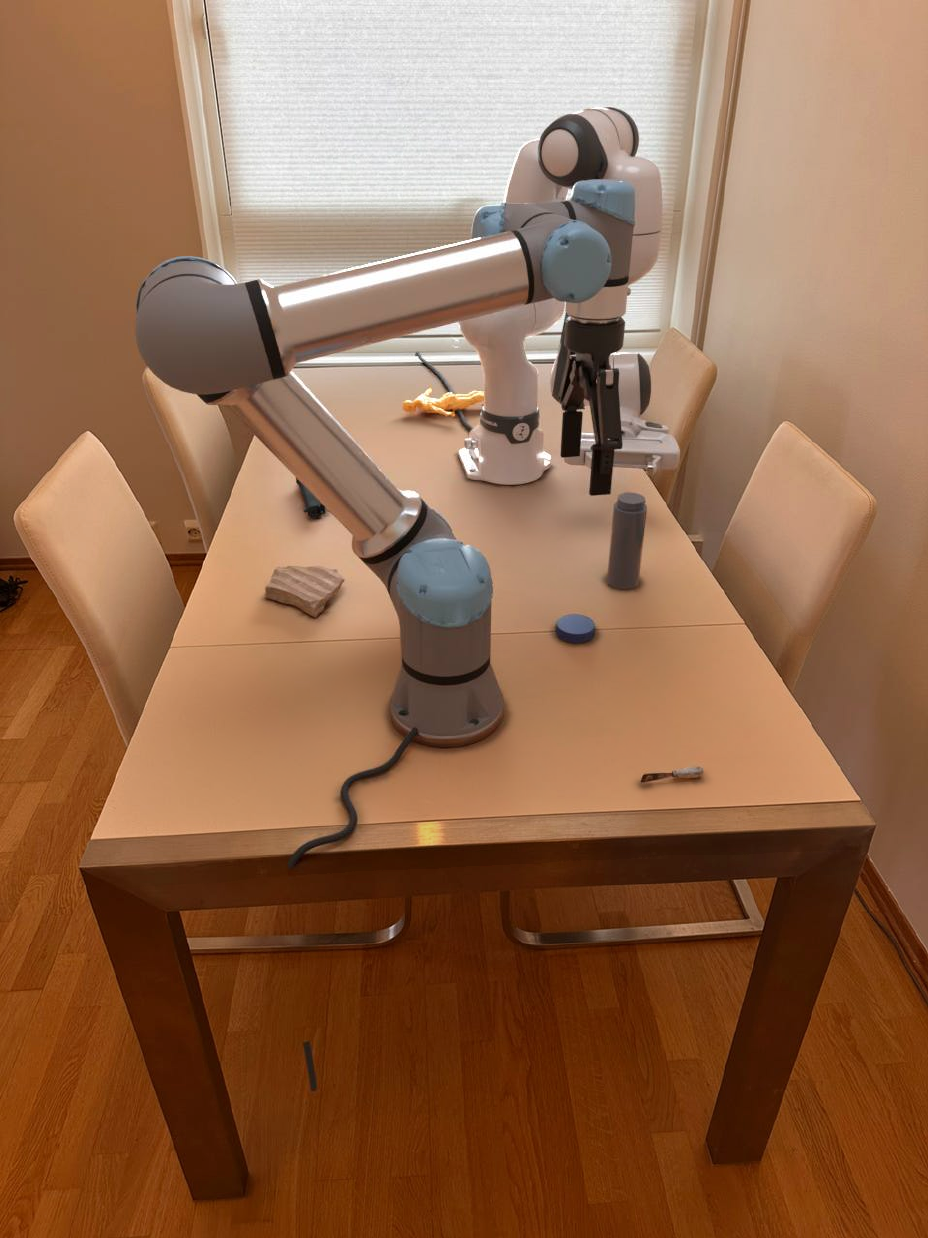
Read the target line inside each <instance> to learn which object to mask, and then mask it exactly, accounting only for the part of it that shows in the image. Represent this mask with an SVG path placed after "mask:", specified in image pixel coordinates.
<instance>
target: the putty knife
mask: <svg viewBox="0 0 928 1238" xmlns="http://www.w3.org/2000/svg"><path fill="white" fill-rule="evenodd" d="M704 772H705V771H704V768H702V767H701V766H697V765H695V766H688V767H683V768H679V769H675V770H673V771H671V772H653V773H652V772H651V773H650V772H649V773H644V774H642V776H641V779H640V783H642V784H645V783H648V782H653V781H659V780H665V779H668V778H673V779H674V778H675V779H693V778H694V779H695V778H700V777H702V776H703V775H704Z"/></svg>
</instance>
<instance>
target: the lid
mask: <svg viewBox="0 0 928 1238" xmlns="http://www.w3.org/2000/svg"><path fill="white" fill-rule="evenodd" d="M595 633H596V624H595V621H594V620H593V619H592V618H591V617H589V616H586V615H584V614H579V613H570V614H565V615H562V616H560V617H558V619H557V621H556V624H555V634H556V636H557V637H558V638H559V639H560V640H562V641H563V642H567V643H569V644H570V643H571V644H584V643H587V642H590V641H591V640H592V639H593V638H594V637H595V635H596V634H595Z"/></svg>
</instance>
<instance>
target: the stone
mask: <svg viewBox="0 0 928 1238" xmlns="http://www.w3.org/2000/svg"><path fill="white" fill-rule="evenodd" d="M344 582H345V578H344V576H342V575H341V574H339V573H338V569H337V568H336V569H331V568H328V567H325V566H321V565H310V566H300V565H287V566H283V567H282V566H277V567H275V568H274V570H273V573H272V574H271V578H270V581H269V583H267V584H266V585H265V587H264V588H265V593H264V597H265V598H266V599H269V600H273V601H277V602H278V603H280V604H288V605H291V606H294V607H296V608H298V609H300V610H301V611H302V612H305V614H307V615H309V616H310V617H314V618H317V617H318V615H319V614H321V613H322V612H323V611H324V609H325V606H326V604H327V602H328V601H329V600H330V599H331V598H332V596H334V595H335V594H337V593H338V591H340V589H341V587H342V585H343V583H344Z"/></svg>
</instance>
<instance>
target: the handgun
mask: <svg viewBox="0 0 928 1238" xmlns="http://www.w3.org/2000/svg"><path fill="white" fill-rule="evenodd" d="M295 482H296V485H297V486H298V487H299V491H300V494H301V497H302V501H303V504H304V507H305V509H303V511H302V512H304V513H307V517H309V518H310V519H320V518H321V516H322V513H323V515H325V513H326V507H325V506H324V505H323V504H322V503H321V502H320V501H319V500H318V499H317V498H316V497H315V496H314V495H313V494H312V493H311V492H310V491H309V490H308V489H307V488H306V487H305V486H304V485H303V484H302V483H301V482H300V481H299V480H298V479H297V478H296V477H295Z"/></svg>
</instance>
